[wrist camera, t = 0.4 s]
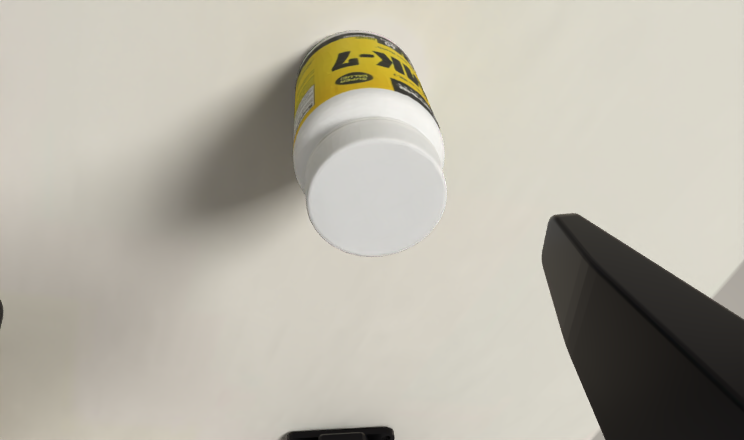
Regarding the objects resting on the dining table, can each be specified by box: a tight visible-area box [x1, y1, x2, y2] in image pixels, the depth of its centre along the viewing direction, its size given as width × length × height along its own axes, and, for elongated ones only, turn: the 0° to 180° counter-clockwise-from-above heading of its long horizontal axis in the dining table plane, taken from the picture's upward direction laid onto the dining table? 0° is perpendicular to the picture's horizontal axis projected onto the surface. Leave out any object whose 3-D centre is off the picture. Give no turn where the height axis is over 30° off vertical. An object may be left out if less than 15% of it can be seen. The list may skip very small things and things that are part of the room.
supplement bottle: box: [293, 30, 447, 257], centre depth 20 cm, size 5×5×8 cm
